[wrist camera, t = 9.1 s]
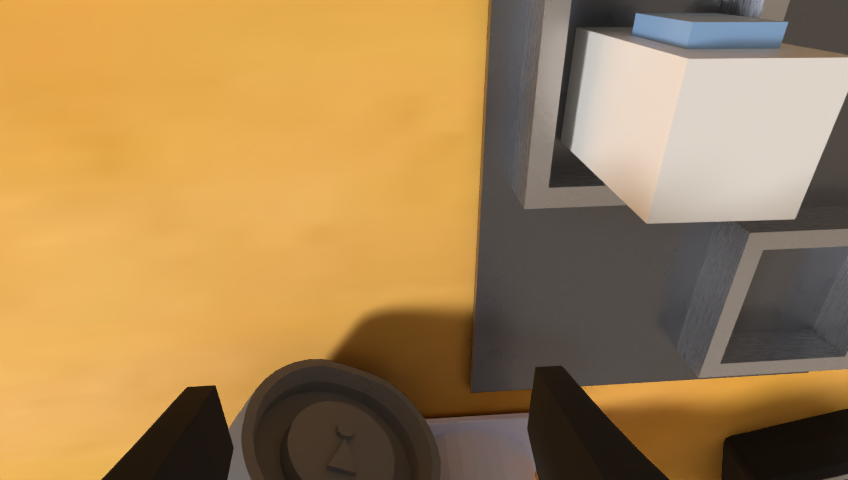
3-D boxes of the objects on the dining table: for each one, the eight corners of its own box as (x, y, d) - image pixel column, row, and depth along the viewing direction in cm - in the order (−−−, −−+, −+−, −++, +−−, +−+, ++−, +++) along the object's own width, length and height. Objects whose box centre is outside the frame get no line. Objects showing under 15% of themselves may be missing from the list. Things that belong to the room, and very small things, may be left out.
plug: (661, 139, 19) (794, 219, 13) (560, 140, 19) (646, 223, 12) (694, 7, 17) (874, 27, 10) (579, 7, 16) (695, 28, 10)
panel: (801, 365, 26) (839, 401, 24) (469, 385, 25) (477, 424, 23) (1017, -76, 16) (1113, -84, 14) (492, -74, 15) (510, -81, 13)
